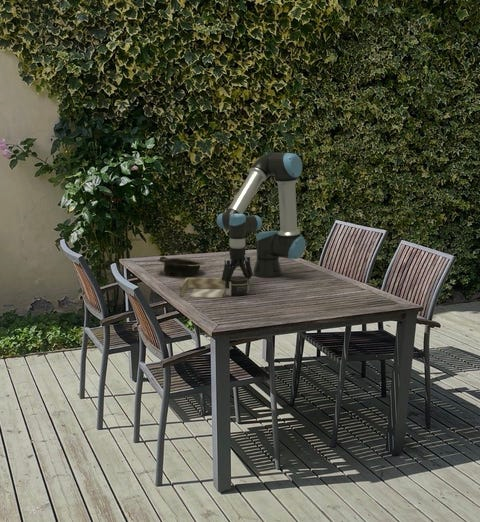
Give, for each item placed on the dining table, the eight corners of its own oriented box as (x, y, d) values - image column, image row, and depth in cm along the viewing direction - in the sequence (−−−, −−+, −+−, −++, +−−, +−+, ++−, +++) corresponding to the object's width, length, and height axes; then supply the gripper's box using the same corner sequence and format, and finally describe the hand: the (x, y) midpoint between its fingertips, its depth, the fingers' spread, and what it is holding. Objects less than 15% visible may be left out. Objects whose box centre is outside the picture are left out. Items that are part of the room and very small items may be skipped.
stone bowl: (151, 276, 387) (151, 259, 386) (171, 270, 411) (171, 254, 410) (194, 279, 379) (194, 261, 378) (213, 273, 402) (213, 256, 401)
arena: (233, 288, 362) (233, 278, 361) (229, 298, 343) (229, 287, 342) (186, 287, 364) (186, 277, 363) (179, 297, 345) (179, 286, 344)
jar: (223, 292, 354) (223, 277, 352) (242, 290, 358) (242, 275, 356) (232, 297, 345) (232, 281, 343) (251, 295, 349) (251, 279, 348)
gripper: (250, 243, 357) (250, 288, 361) (213, 248, 343) (213, 295, 347) (260, 245, 351) (260, 291, 356) (223, 250, 337) (223, 298, 341)
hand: (237, 293), depth 351 cm, fingers closed on jar, 10 cm apart
